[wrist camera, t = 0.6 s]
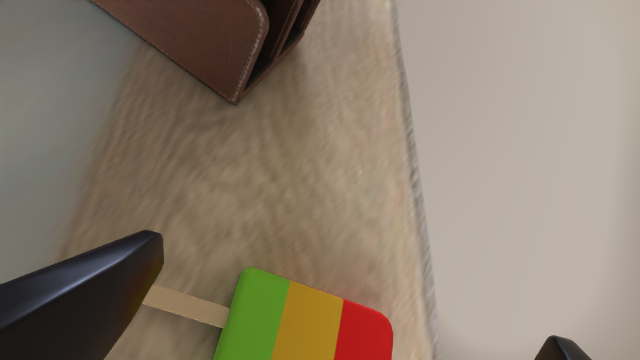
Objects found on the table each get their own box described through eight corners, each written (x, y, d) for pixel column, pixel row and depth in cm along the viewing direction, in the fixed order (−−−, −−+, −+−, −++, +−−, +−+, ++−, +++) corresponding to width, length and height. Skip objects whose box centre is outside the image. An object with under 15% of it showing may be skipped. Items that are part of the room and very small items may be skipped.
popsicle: (370, 423, 21) (389, 425, 20) (81, 345, 18) (77, 339, 16) (381, 320, 24) (398, 315, 23) (136, 236, 21) (138, 223, 19)
